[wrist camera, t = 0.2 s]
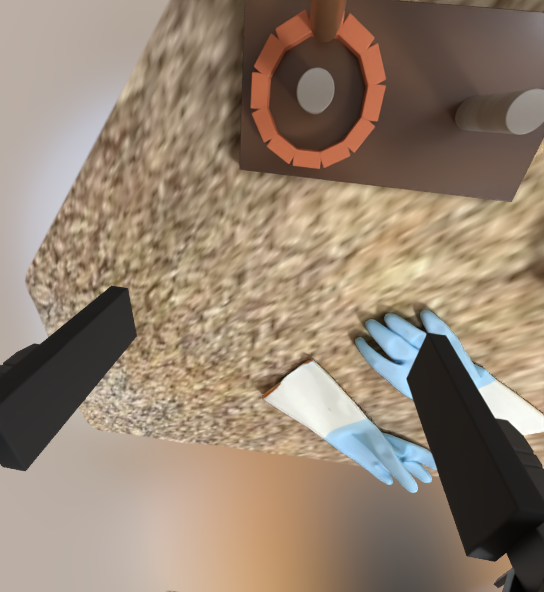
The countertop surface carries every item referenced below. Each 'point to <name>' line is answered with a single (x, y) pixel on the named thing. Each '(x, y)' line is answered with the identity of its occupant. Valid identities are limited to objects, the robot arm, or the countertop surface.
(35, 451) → the robot arm
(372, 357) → the rubber gloves
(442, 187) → the rack
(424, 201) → the countertop surface
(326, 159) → the ring
